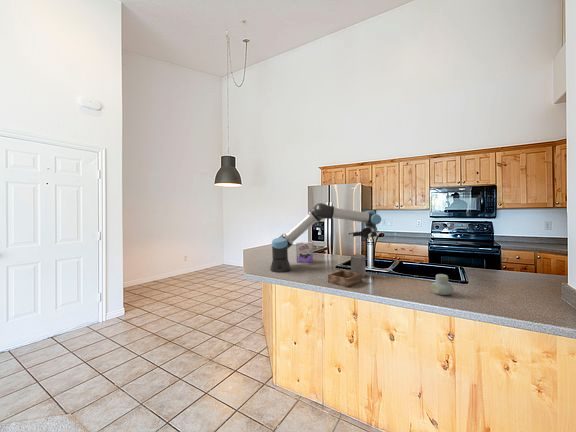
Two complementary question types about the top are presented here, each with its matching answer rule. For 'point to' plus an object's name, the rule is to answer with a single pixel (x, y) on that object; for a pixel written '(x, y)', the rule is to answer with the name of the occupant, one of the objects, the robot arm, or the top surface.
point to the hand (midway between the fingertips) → (359, 236)
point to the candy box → (304, 251)
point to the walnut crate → (345, 278)
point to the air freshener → (442, 285)
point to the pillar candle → (358, 264)
